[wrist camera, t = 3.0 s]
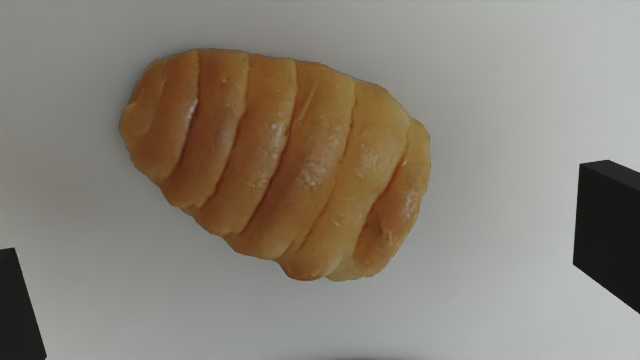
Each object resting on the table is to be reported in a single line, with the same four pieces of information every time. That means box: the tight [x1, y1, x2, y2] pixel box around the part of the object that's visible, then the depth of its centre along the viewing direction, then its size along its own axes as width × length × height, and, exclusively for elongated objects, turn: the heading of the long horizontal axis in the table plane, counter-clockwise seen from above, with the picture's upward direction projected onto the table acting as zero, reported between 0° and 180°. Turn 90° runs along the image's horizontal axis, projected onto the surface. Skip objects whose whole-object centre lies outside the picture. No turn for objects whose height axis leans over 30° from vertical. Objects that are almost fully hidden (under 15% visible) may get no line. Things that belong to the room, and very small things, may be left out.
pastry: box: [119, 49, 431, 282], centre depth 17 cm, size 9×7×4 cm
